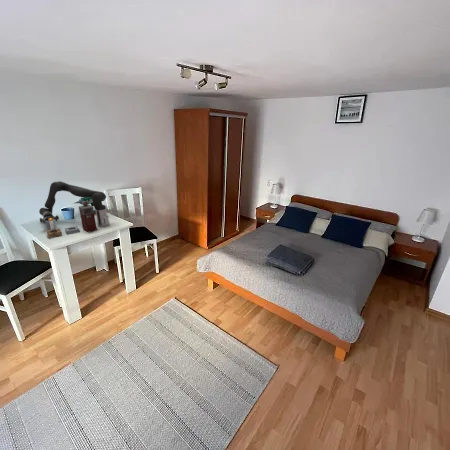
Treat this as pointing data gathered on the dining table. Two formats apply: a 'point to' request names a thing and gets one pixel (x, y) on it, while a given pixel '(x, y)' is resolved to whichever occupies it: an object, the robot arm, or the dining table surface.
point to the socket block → (72, 230)
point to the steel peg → (52, 224)
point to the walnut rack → (54, 233)
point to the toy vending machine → (87, 217)
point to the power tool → (87, 199)
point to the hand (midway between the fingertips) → (50, 221)
